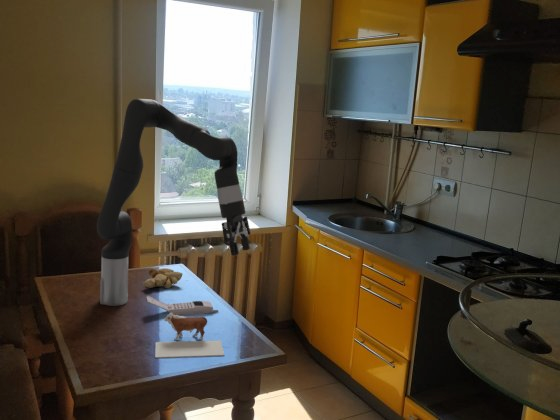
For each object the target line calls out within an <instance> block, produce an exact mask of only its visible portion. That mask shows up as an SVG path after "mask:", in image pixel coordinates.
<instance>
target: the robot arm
mask: <svg viewBox="0 0 560 420" xmlns="http://www.w3.org/2000/svg"><path fill="white" fill-rule="evenodd" d="M123 121H124V122H123V127H122V136H121V139H120V142H119V143H120V144H119V147H118V151H117V156H116V160H115V162H114V166H113V170H112V174H111V179H110V182H109V186H108V190H107V191H106V192H107V194H106V195H105V196H106V197H105V200H104V201H103V204H102V207H101V210H100V212H99V215H98V218H97V221H96V232H97V234H98V236H99V237H100V238H101V239H102V240H105V241H106V240H109V242H108V243H107V244H106V245H104V246H103V247H102V249H101V270H100V271H101V272H100V273H101V277H100V305H105V306H109V307H110V306H113V307H116V306H118V307H119V306H123V305H125V304H127V303H128V300H129V299H128V297H129V291H128V290H129V252H130V250H131V247H132V234H133V233H132V232H133V223H132V218H131V217H130V214H129V213H127V211H124V210H123V211H122V208H123V207H124V205H125V203H126V201H127V200H128V199H129V198H130V196H132V194H133V193H134V191H135V190H136V188H137V187H138V185H139V183H140V181H141V178H142V173H143V170H144V160H143V159H144V158H143V155H142V152H141V139H142V135H143V131H144V129H145V128H157V129H158V128H159V129H161V130H165V131H167V132H168V133H170V134H172V135H173V136H174V137H175V139H176V140H178V141H179V142H180V143H182V144H184V145H186V146H189V147H191V148H192V149H195V150H197V152H199V153H200V154H201V155H202V156H204V157H205V158H207V159H209V160H212V161H219V166H218V169H216V170H215V171H214V180H215V184H216V191H217V193H216V195H217V199H218V200H217V201H218V204H219V209H220V211H219V212H220V215H221V218H222V219H225V220H226V221H225V222H221V229H222V234H223V240H224V243H227V244H228V245H229V250H230V256H237V255H239V247H238V243H237V239H238V236H239V238H240V241H241V247H242V251H248V250H250V248H251V247H250V243H249V236H250V235H251V230H250V224H249V220H248V216H243V215H245V214H246V208H245V204H244V203H245V202H244V198H243V197H244V196H243V193H242V190H241V186H240V182H239V177H238V170H237V169H238V148H237V144H236V143H235V141H234V140H233V138H231V137H229V136H213V135H211V133H210V131H209V130H207V129H206V128H204V127H202V126H200V125H197V124H196V123H193V122H191V121H190V120H189V121H188V120H187V119H184V118H182V117H181V116H179V115H178V114H176V113H174V112H172V111H171V110H170V109H168V108H167V107H165V106H164V105H163V104H162V103H160V102H158V101H156V100H154V99H149V98H148V99H147V98H134V99H132V100H131V101H130V102H129V103H128V104H127V107H126V110H125V115H124V120H123Z"/></svg>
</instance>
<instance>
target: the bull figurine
mask: <svg viewBox="0 0 560 420" xmlns="http://www.w3.org/2000/svg"><path fill="white" fill-rule="evenodd" d="M163 320H164V322H167V323H168V324H169V325H171V328H172V329H173V330H174V331H175V332H176V333H175V334H176V336H175V338H173V341H174V342H178V340H179V338H182V337H183V331H184V332H185V331H186V332H189V333H192V332H193V331H194V330H195V333H194V334H193V335H192V338H195V337H198V334H199V333H200V337H199V339H198V341H203V340H204V335H205V330H204V329H205V327H206V326H207V324H208V319H207V318H206V317H205V316H185V315H176V313H174V314H173V313H170V314H169V313H168V314H167V315H166V317H165V318H164V319H163Z"/></svg>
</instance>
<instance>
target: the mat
mask: <svg viewBox="0 0 560 420" xmlns="http://www.w3.org/2000/svg"><path fill="white" fill-rule="evenodd" d="M154 351H155V354H154V356H155V357H154V358H155V359H168V358H191V357H192V358H198V357H223V356H224V357H225V352H224V348H223V343H222V340H221V339H219V340H192V341H191V340H189V341H188V340H186V341H156V342H155V350H154Z"/></svg>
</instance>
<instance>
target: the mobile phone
mask: <svg viewBox="0 0 560 420" xmlns="http://www.w3.org/2000/svg"><path fill="white" fill-rule="evenodd" d="M145 299H146V302H147V303H148V304H151V305H154V306H156V307H157V308H160V309H163V310H165V311H166V312H168V315H169V314H170V313H173V314H174V313H176V315H179V316H185V315H187V316H188V315H189V314H190V315H203V314H204V315H205V314H209V313H210V314H211V313H218V312H219V309H214V307H213V304H212V302H211V301H205V300H195V301H191V302H179V303H168V304H166V303H164V302H162V301H160V300H159V299H156V298H154V297H152V296H150V295H146V298H145Z"/></svg>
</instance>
